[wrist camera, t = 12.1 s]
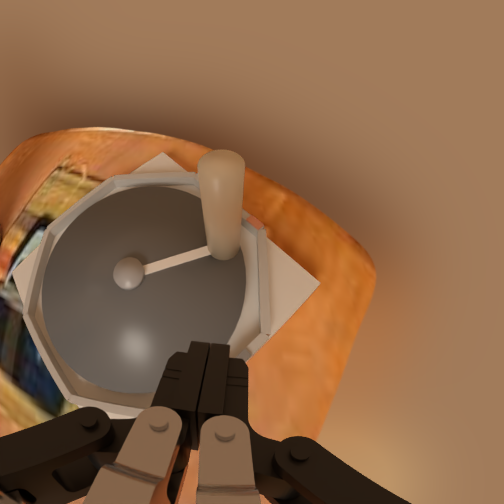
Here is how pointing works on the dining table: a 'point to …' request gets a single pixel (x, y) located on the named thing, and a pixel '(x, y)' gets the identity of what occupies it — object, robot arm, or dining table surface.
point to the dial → (148, 277)
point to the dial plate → (253, 312)
